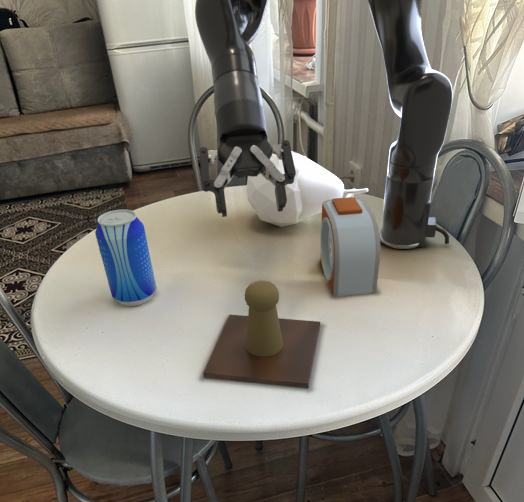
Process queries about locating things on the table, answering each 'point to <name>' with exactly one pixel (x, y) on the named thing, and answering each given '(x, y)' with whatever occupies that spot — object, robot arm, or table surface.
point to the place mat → (269, 367)
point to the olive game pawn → (263, 319)
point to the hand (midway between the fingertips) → (252, 212)
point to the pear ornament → (296, 192)
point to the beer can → (125, 257)
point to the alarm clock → (349, 246)
